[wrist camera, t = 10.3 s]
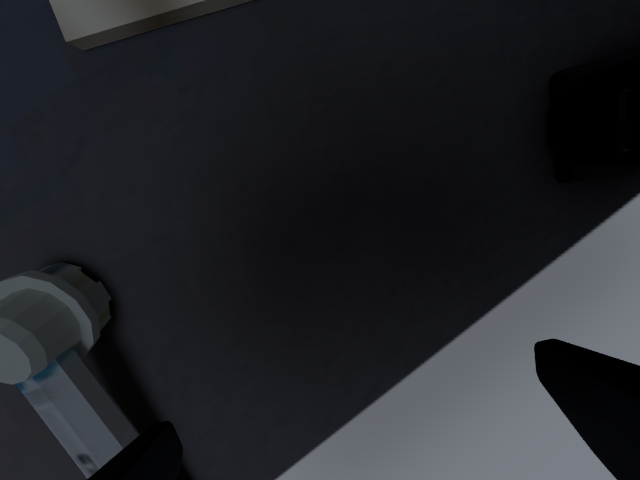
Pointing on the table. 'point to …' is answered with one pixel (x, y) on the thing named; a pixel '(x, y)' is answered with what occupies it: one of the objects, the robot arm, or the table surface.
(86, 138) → the table surface
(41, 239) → the table surface
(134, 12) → the socket board
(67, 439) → the grey elongated piece
